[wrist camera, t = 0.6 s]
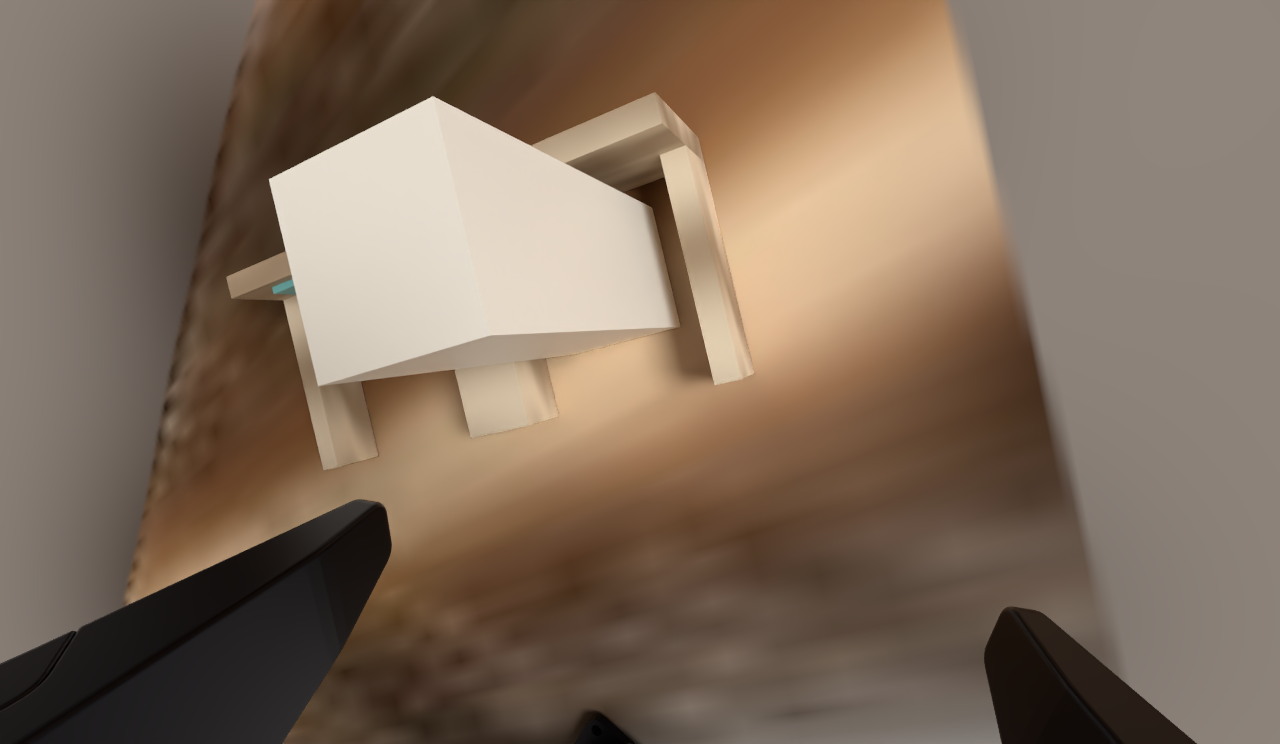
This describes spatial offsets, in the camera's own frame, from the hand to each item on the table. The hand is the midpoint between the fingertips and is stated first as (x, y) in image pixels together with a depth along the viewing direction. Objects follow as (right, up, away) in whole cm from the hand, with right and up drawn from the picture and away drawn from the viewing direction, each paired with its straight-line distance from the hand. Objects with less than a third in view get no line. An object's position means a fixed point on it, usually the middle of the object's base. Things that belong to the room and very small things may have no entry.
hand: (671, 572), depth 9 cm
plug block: (-2, +7, +16) cm, 18 cm away
